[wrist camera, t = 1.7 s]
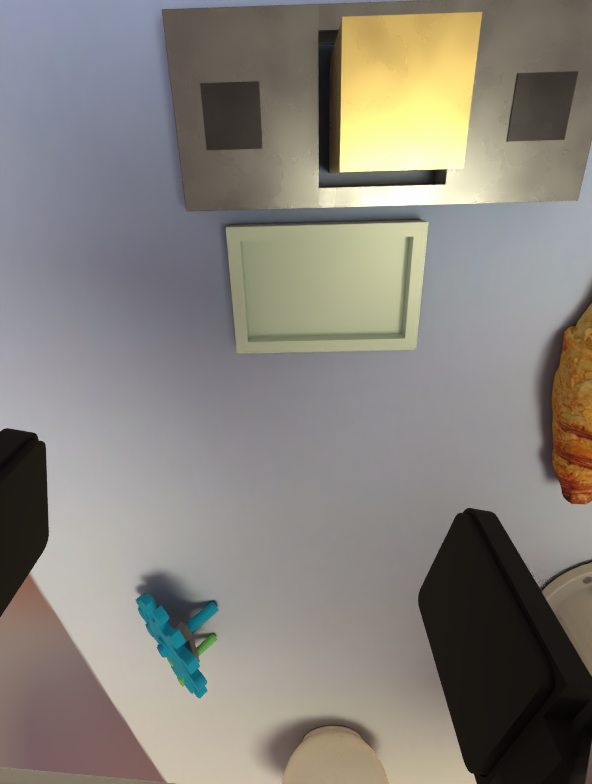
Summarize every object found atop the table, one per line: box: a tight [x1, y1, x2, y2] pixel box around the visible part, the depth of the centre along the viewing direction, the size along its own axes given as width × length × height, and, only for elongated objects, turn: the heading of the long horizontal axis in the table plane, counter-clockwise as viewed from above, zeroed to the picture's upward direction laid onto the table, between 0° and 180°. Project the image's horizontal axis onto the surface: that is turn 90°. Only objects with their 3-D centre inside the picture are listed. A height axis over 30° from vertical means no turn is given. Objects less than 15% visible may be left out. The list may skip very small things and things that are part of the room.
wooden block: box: [329, 12, 482, 173], centre depth 22 cm, size 6×6×8 cm
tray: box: [226, 220, 428, 354], centre depth 29 cm, size 12×8×2 cm, turn 91°
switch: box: [162, 0, 592, 211], centre depth 24 cm, size 22×9×3 cm, turn 91°
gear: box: [136, 593, 218, 698], centre depth 41 cm, size 11×6×10 cm
